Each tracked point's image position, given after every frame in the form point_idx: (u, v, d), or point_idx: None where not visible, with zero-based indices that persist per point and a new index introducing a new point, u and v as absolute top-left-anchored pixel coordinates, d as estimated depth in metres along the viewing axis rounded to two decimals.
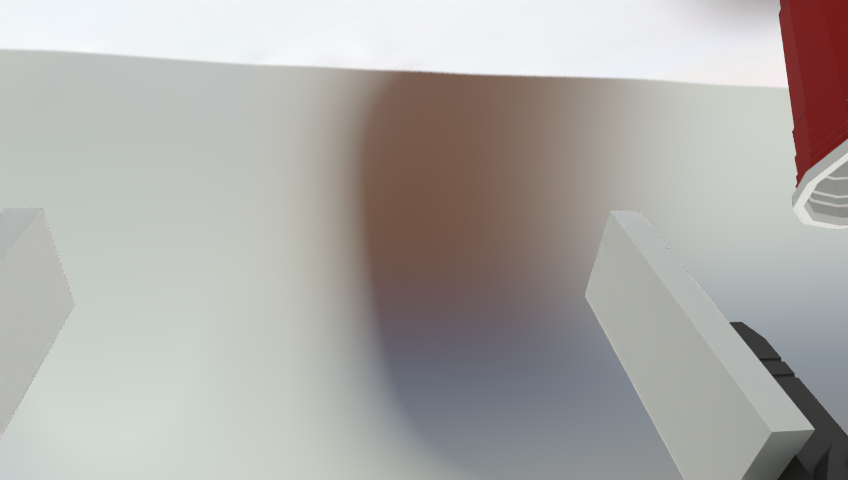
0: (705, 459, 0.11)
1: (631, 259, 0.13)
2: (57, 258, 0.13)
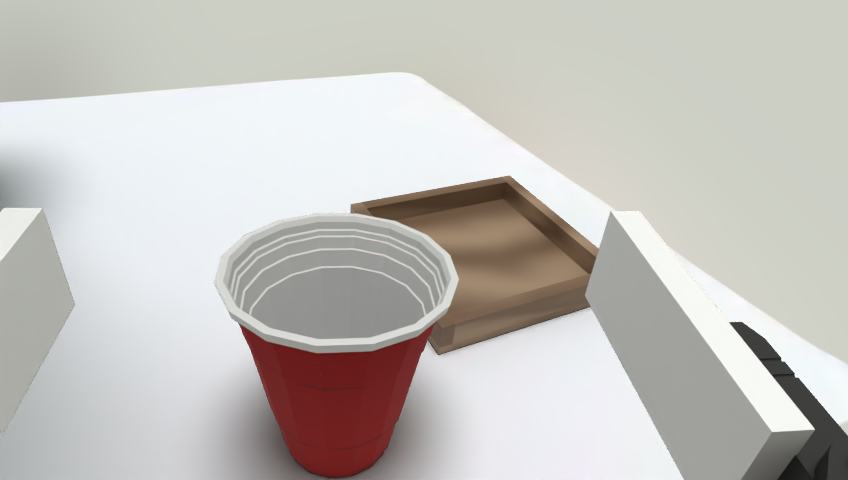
0: (705, 459, 0.11)
1: (631, 259, 0.13)
2: (56, 258, 0.13)
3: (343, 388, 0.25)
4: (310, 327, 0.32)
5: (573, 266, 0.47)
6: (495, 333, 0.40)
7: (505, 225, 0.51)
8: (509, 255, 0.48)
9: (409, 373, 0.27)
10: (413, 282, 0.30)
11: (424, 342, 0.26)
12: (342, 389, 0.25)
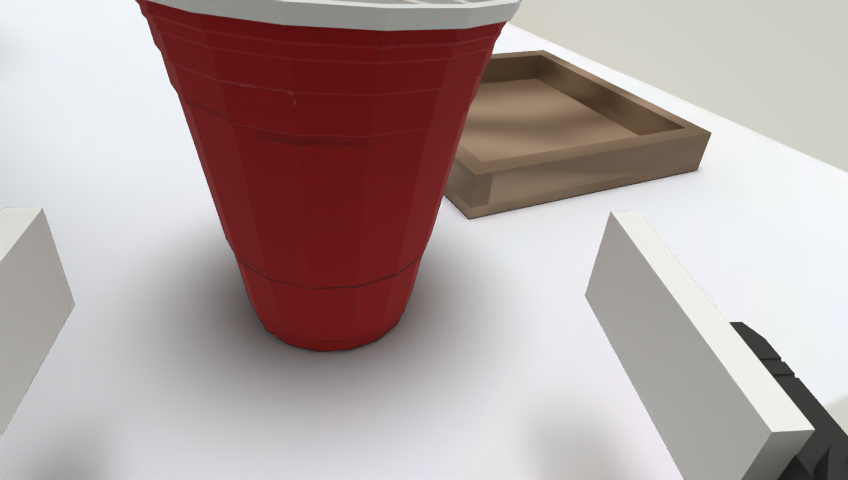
0: (705, 459, 0.11)
1: (631, 259, 0.13)
2: (57, 258, 0.13)
3: (335, 142, 0.14)
4: None
5: (634, 137, 0.37)
6: (543, 197, 0.30)
7: (542, 100, 0.41)
8: (551, 125, 0.37)
9: (443, 153, 0.17)
10: None
11: (469, 89, 0.16)
12: (332, 144, 0.14)
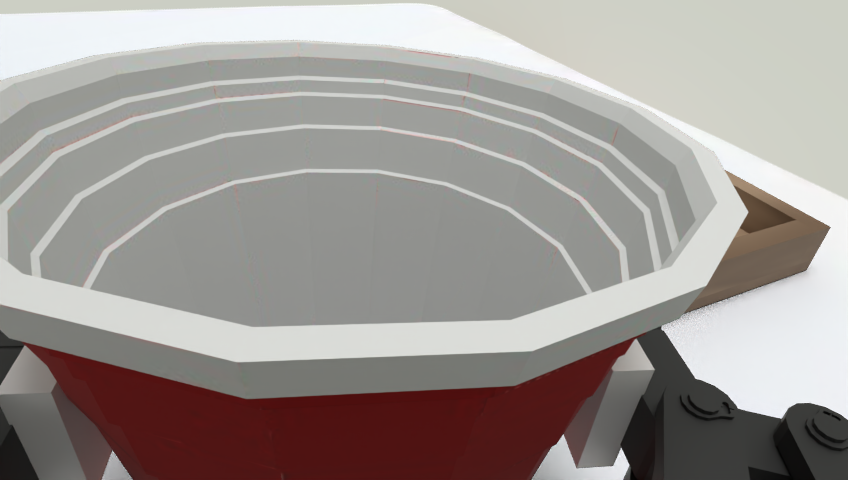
0: None
1: None
2: None
3: None
4: (283, 312, 0.15)
5: None
6: None
7: None
8: None
9: None
10: (531, 197, 0.12)
11: None
12: None
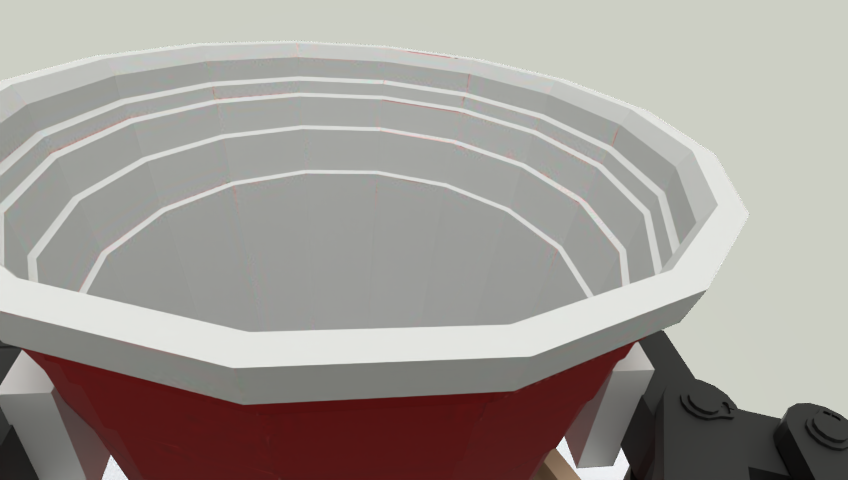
0: None
1: None
2: None
3: None
4: (282, 313, 0.14)
5: None
6: None
7: None
8: None
9: None
10: (531, 199, 0.12)
11: None
12: None
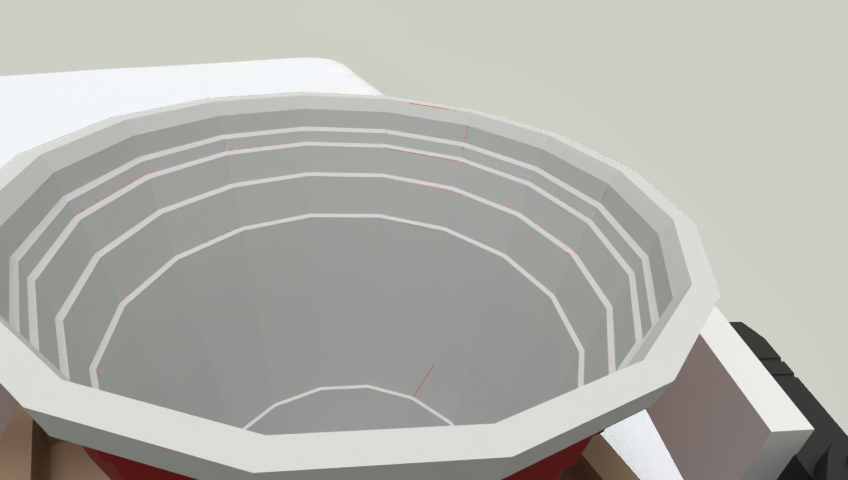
0: (705, 459, 0.11)
1: None
2: None
3: None
4: (287, 348, 0.15)
5: None
6: None
7: None
8: None
9: None
10: (526, 247, 0.13)
11: None
12: None
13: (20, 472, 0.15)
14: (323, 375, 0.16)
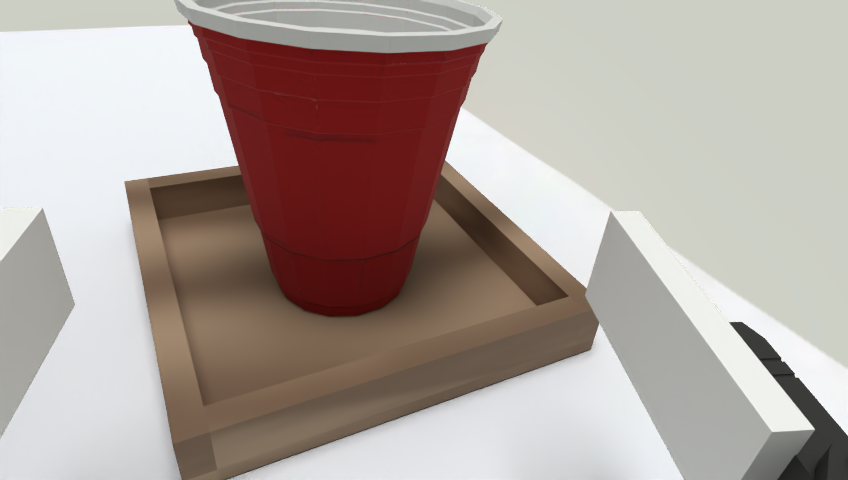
0: (705, 459, 0.11)
1: (631, 259, 0.13)
2: (56, 258, 0.13)
3: (348, 139, 0.18)
4: None
5: (510, 290, 0.26)
6: (325, 437, 0.19)
7: None
8: None
9: (436, 149, 0.20)
10: None
11: (457, 96, 0.19)
12: (346, 140, 0.18)
13: (149, 212, 0.26)
14: None
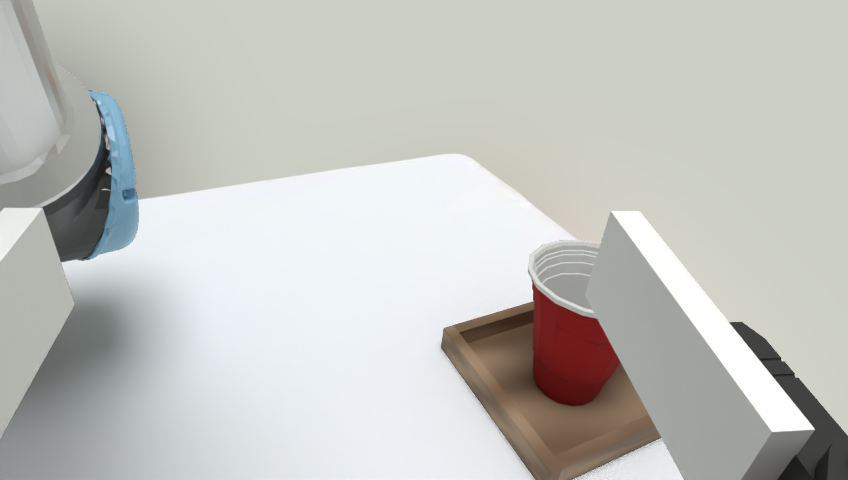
0: (705, 459, 0.11)
1: (632, 259, 0.13)
2: (57, 258, 0.13)
3: (610, 344, 0.43)
4: None
5: None
6: (592, 467, 0.44)
7: None
8: None
9: None
10: None
11: None
12: (609, 344, 0.43)
13: (469, 349, 0.51)
14: None
